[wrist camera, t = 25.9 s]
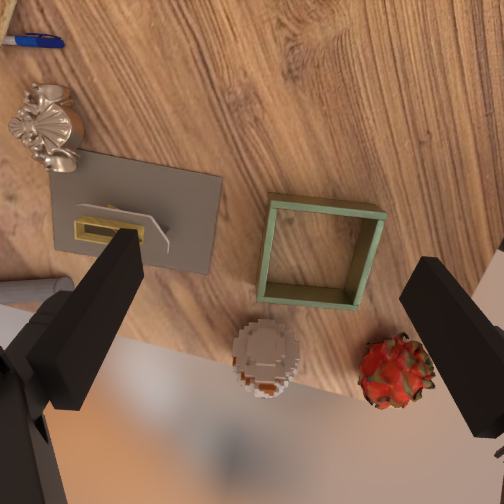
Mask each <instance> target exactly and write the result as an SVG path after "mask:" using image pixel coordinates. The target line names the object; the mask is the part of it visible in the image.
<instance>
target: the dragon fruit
mask: <svg viewBox="0 0 504 504" xmlns="http://www.w3.org/2000/svg"><path fill="white" fill-rule="evenodd" d="M404 336H405V337H406V339H407V338H408V339H409V336H408V335H407V334H406V333H404V332H403V333H400V334H398V335H397V336H396V337H394V338H390V339H385V341H384V343H380V344H376V343H374V344H371V345H368V344H369V343H367V344H366V346H365V348H366V350H367V351H368V350H370V352H369V353H368V354H367V355H366V356H365V357H364V358H363V361H362V362H361V365H360V375H359V381H358V385H361V387H362V389H363V394H364V397H365V399H366V400H367V401H368V402H369V403H370V404H371V405H373V403H375V404H376V405H375V407H376V408H378V409H385V408H387V407H388V406H390V405H392V406H394V407H395V408H399V407H401V406H402V408H404V407H405V406H407V404H408V402H409V399H411V400H412V401H414V402H415V401H417V400H419V399H420V398H422V394H421V393H422V389H423V388H427V389H434V388H435V385H434V383H433V382H432V381H431V379H432V378H433V377H435V373H434V372H433V370H434V367H433V363H432V362H433V361H432V360H431V358H430V355H428V354H427V353H426V352H425V351H424V350H423V347H422V344H421V343H419V342H417V341H410V342H408V343H405V342H404V341H403V337H404Z"/></svg>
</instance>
